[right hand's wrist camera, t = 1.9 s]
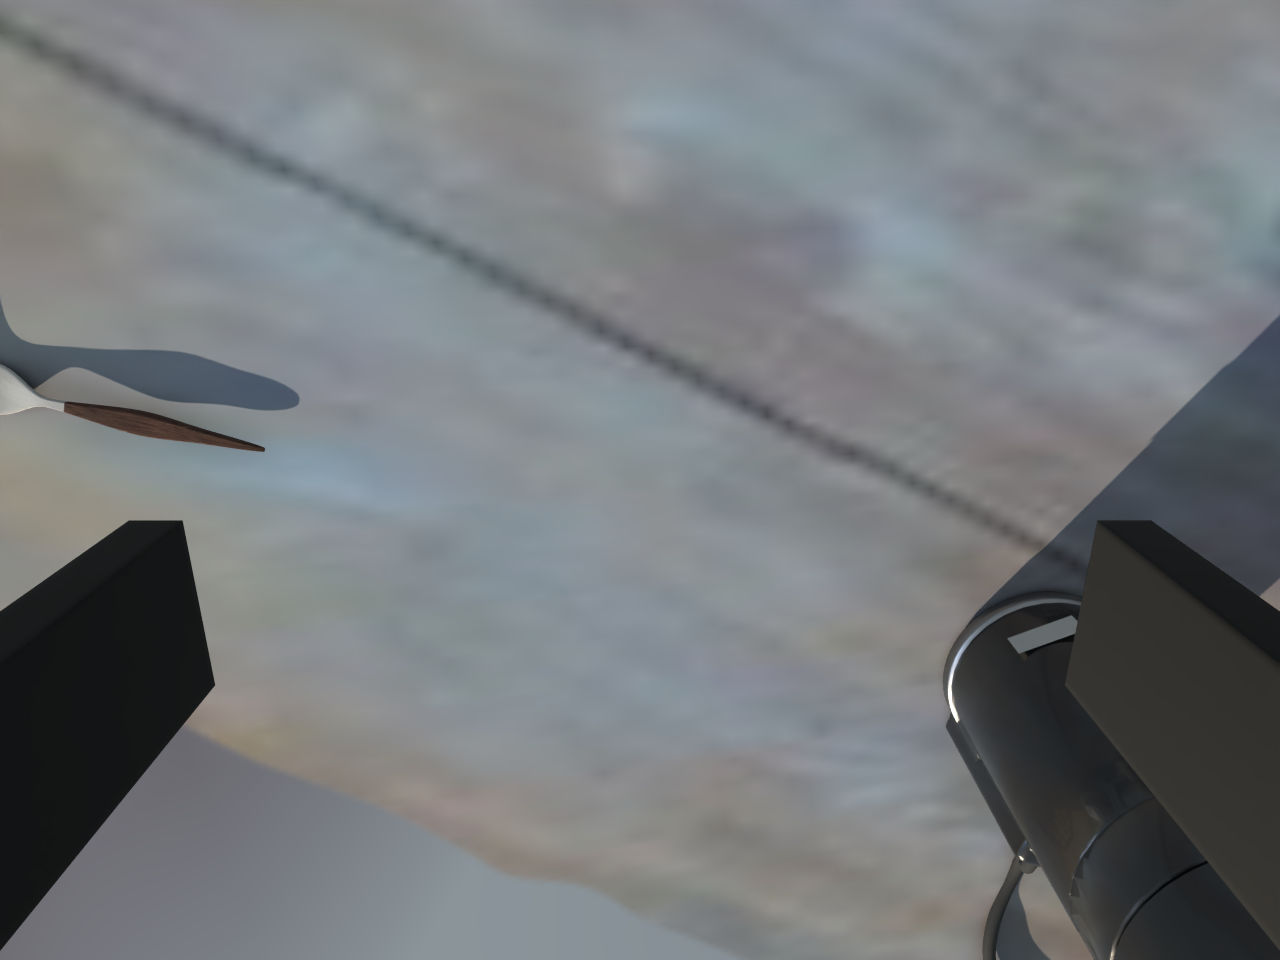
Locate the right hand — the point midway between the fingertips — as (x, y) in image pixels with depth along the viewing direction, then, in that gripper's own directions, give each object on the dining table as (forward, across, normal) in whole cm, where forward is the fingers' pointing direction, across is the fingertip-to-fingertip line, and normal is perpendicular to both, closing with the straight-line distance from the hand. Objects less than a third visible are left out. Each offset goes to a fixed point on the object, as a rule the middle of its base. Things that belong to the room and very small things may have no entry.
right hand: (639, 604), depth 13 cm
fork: (+28, -25, -5) cm, 38 cm away
